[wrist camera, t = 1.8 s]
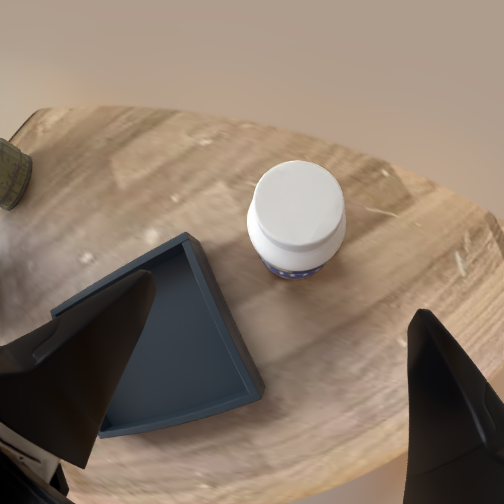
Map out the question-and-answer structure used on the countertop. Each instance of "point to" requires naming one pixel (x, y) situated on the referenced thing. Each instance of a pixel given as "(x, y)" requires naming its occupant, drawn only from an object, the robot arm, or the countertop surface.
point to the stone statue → (12, 174)
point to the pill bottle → (297, 219)
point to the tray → (177, 346)
